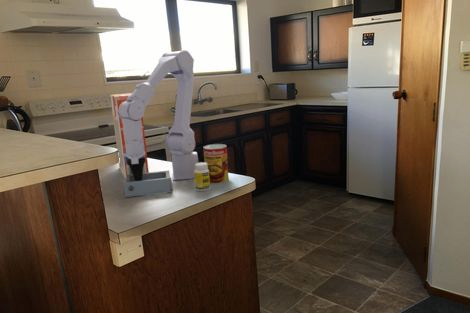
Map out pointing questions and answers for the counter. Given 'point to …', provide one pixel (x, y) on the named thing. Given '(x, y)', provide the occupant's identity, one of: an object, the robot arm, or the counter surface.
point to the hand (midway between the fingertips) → (138, 180)
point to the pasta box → (119, 134)
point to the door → (148, 187)
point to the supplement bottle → (202, 177)
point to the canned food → (216, 162)
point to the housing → (150, 176)
